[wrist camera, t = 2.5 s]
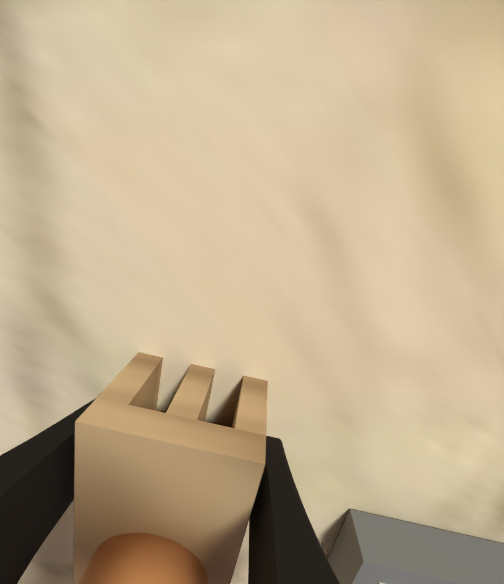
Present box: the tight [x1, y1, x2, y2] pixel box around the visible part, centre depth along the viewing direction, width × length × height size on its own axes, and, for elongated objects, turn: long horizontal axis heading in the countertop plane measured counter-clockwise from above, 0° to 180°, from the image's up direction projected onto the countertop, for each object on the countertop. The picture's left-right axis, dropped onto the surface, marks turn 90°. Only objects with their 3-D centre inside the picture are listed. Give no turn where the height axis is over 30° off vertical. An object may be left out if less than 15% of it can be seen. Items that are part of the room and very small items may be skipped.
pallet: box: [73, 352, 267, 584], centre depth 11 cm, size 10×5×4 cm, turn 168°
